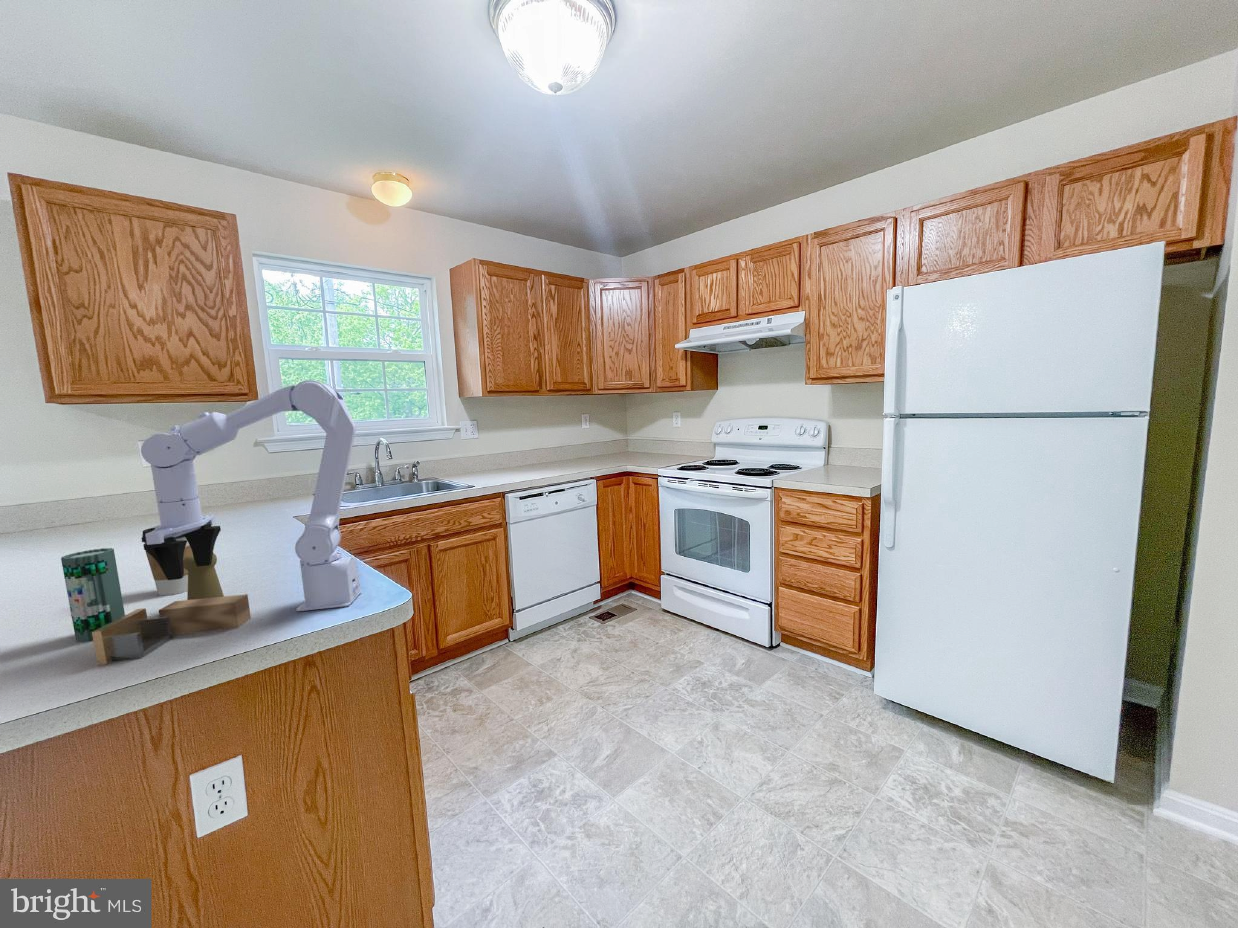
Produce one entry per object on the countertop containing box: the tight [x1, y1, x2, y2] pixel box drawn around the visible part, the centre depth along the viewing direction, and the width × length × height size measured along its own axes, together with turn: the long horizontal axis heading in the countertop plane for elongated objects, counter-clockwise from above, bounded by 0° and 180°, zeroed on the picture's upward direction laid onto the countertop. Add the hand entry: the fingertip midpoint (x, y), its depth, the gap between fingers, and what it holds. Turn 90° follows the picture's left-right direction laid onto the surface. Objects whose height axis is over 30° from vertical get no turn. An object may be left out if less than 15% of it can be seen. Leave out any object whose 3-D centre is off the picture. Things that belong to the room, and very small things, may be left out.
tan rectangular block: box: [158, 594, 252, 636], centre depth 89 cm, size 12×4×5 cm, turn 100°
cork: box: [183, 552, 225, 600], centre depth 99 cm, size 6×6×11 cm
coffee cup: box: [141, 526, 193, 597], centre depth 109 cm, size 8×8×15 cm
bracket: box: [92, 608, 174, 666], centre depth 81 cm, size 5×9×6 cm, turn 10°
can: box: [60, 547, 126, 643], centre depth 87 cm, size 6×6×15 cm
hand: (190, 572), depth 90 cm, fingers open, 7 cm apart
